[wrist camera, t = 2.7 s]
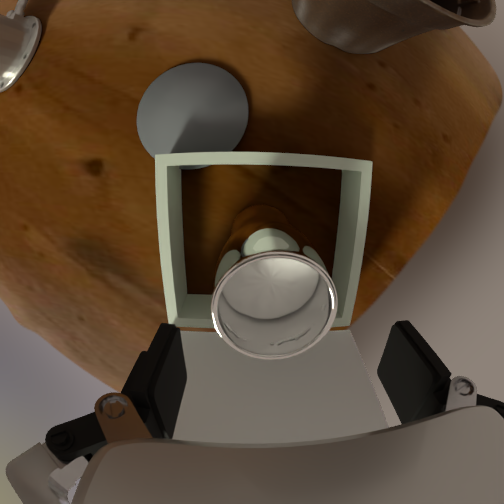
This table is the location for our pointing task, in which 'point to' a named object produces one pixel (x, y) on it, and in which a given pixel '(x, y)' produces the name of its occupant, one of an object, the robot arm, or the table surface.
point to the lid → (275, 393)
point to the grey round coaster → (192, 112)
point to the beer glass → (271, 288)
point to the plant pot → (386, 20)
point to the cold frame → (169, 175)
